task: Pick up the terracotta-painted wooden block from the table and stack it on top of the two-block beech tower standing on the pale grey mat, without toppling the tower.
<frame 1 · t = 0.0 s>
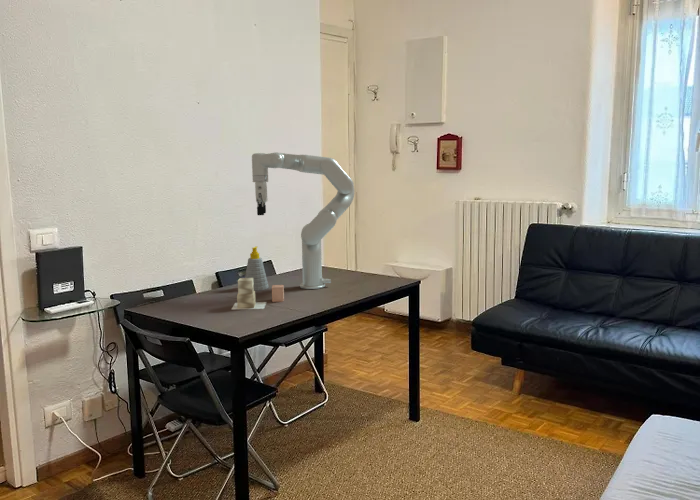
hand: (261, 214, 313), 37 cm above the table, tool pointing down, fingers open, 9 cm apart
top block: (278, 301, 290), on the table
tower base: (246, 306, 280), resting on mat, touching tower mid
tower mid: (246, 292, 279), point 6 cm above the table, touching tower base
soap bottle: (256, 288, 319), on the table
mat: (249, 306, 281), on the table
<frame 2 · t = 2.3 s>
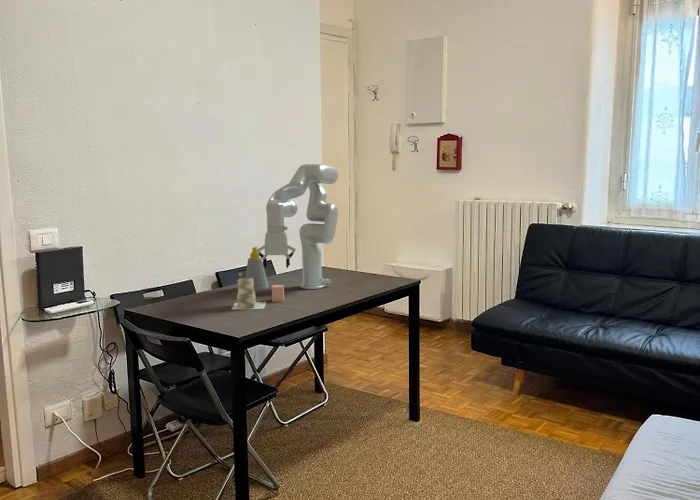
hand: (276, 267, 288), 16 cm above the table, tool pointing down, fingers open, 9 cm apart
nothing on the table moved.
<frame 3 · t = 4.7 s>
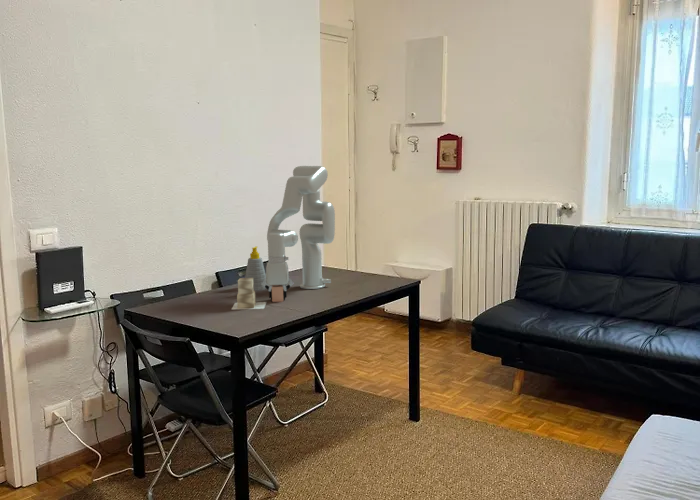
hand: (278, 299, 290), 1 cm above the table, tool pointing down, fingers closed on top block, 5 cm apart
top block: (278, 301, 290), on the table, touching gripper
everything else where it was.
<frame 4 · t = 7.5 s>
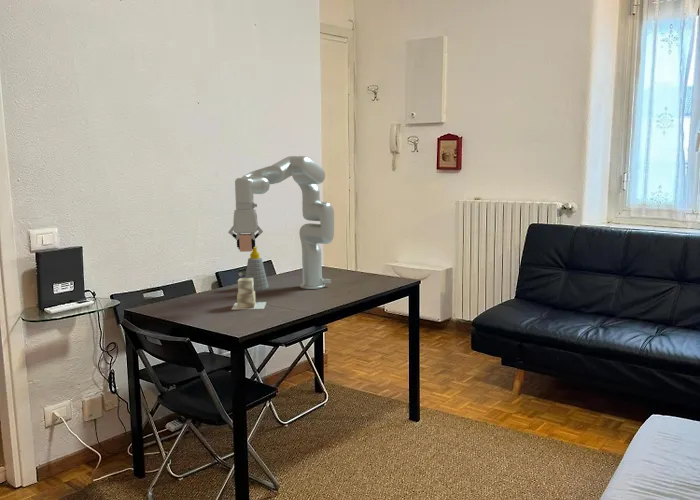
hand: (246, 248, 277), 26 cm above the table, tool pointing down, fingers closed on top block, 5 cm apart
top block: (246, 250, 277), point 25 cm above the table, touching gripper
everything else where it was.
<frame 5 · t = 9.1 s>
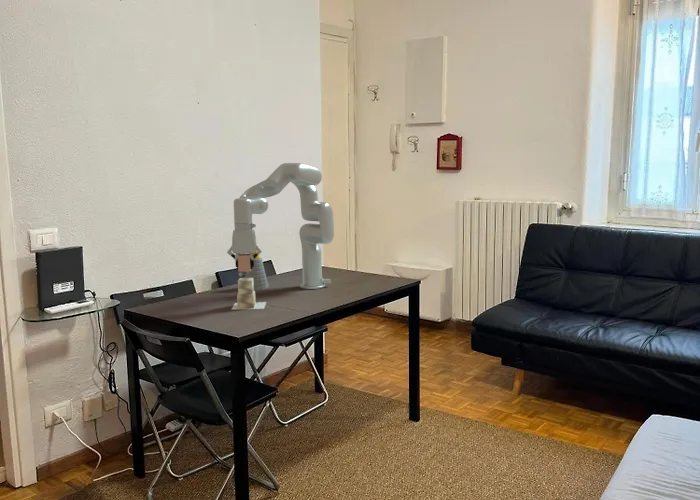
hand: (244, 268, 277), 17 cm above the table, tool pointing down, fingers closed on top block, 5 cm apart
top block: (245, 270, 277), point 16 cm above the table, touching gripper
everything else where it was.
when the fingers open (15 cm above the table, at t = 10.4 s): top block drops 1 cm, resting on tower mid.
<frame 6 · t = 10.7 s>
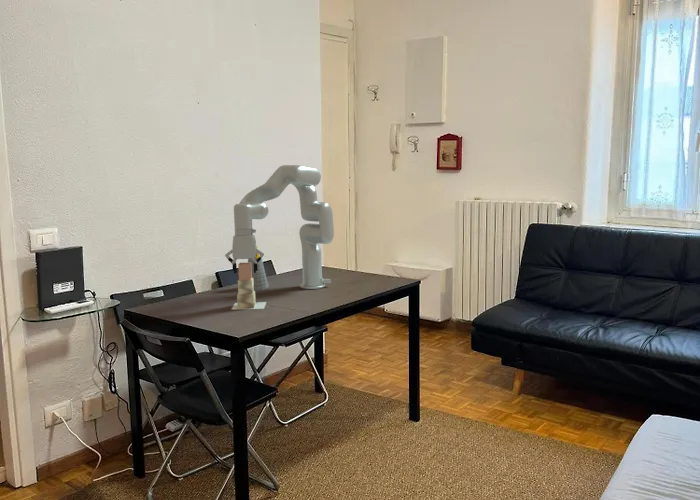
hand: (245, 272, 278), 15 cm above the table, tool pointing down, fingers open, 8 cm apart
top block: (245, 279, 278), point 12 cm above the table, touching tower mid
tower mid: (246, 292, 279), point 6 cm above the table, touching top block, tower base
everything else where it was.
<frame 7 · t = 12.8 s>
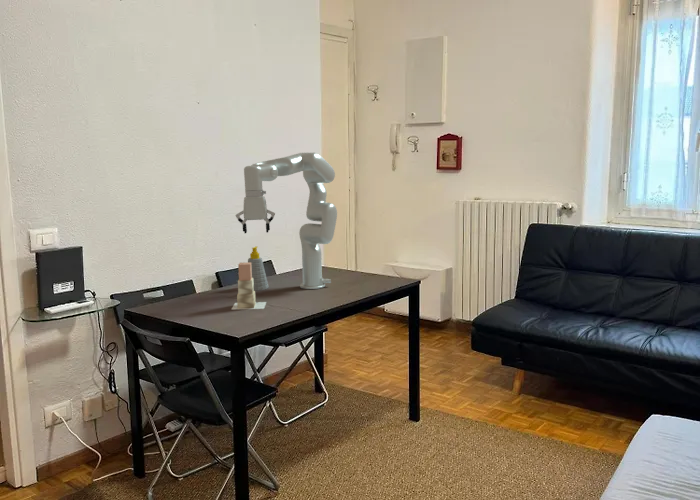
hand: (256, 232, 284), 32 cm above the table, tool pointing down, fingers open, 9 cm apart
nothing on the table moved.
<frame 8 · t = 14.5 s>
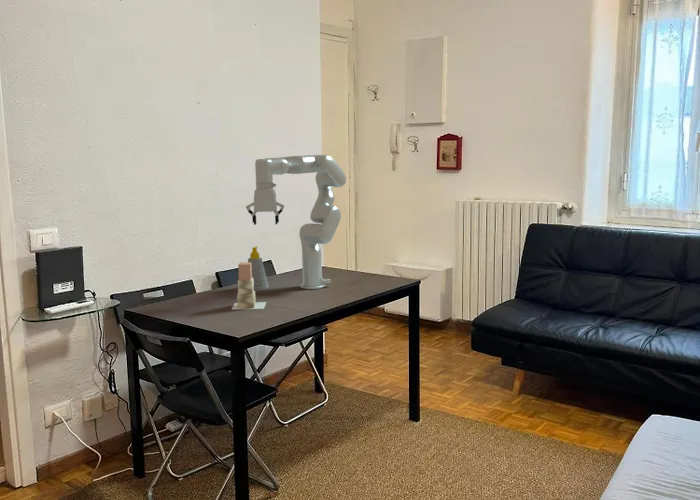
hand: (265, 224, 292), 34 cm above the table, tool pointing down, fingers open, 9 cm apart
nothing on the table moved.
at the end: top block 0.0 cm off-centre on the tower mid, point 6.0 cm above the tower mid's base; tower mid tilted 0°; top block tilted 0° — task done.
